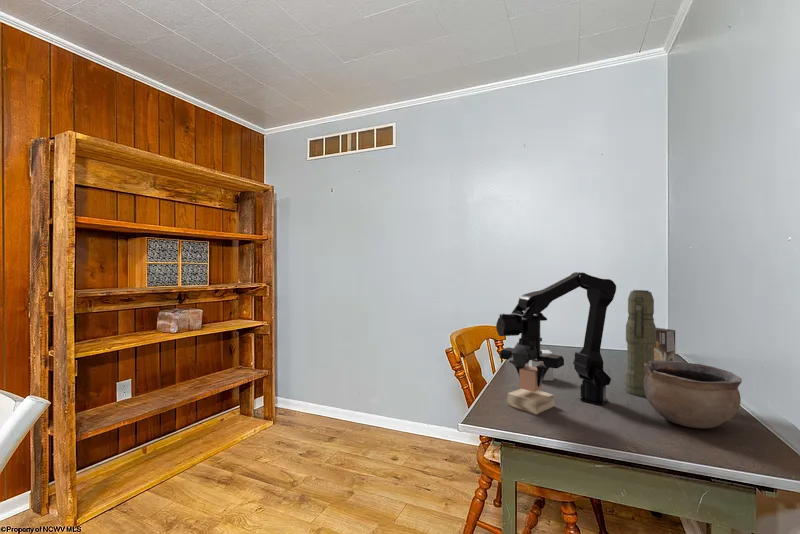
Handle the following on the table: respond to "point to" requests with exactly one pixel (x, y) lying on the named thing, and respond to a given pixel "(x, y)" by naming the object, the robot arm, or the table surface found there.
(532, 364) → the small box
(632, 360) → the thermos
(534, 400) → the birch base block
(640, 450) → the table surface
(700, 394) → the ceramic bowl
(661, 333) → the coffee box
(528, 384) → the terracotta block
